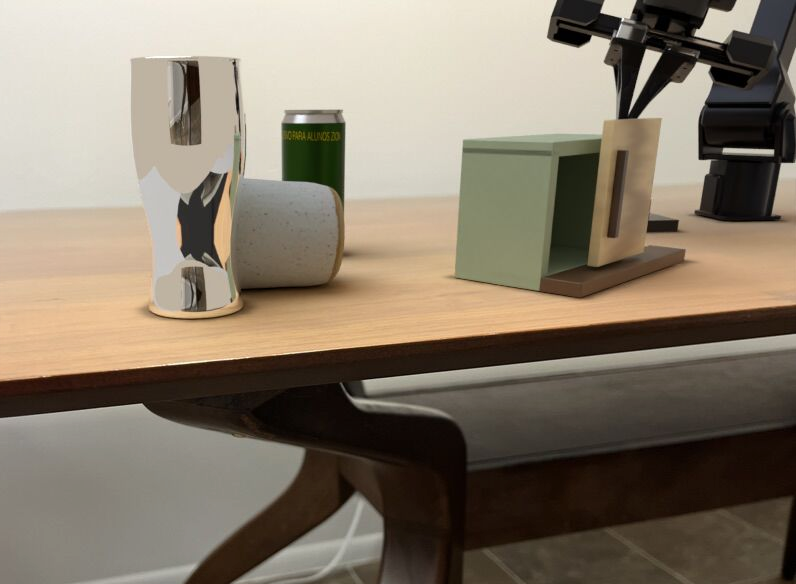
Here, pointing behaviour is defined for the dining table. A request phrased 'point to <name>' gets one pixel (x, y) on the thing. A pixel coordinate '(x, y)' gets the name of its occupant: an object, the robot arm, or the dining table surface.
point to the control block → (661, 223)
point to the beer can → (314, 148)
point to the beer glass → (190, 178)
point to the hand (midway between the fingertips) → (620, 134)
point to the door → (623, 189)
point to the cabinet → (538, 216)
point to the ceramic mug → (288, 234)
